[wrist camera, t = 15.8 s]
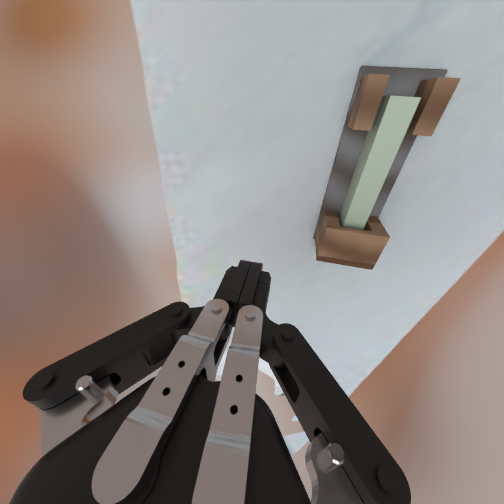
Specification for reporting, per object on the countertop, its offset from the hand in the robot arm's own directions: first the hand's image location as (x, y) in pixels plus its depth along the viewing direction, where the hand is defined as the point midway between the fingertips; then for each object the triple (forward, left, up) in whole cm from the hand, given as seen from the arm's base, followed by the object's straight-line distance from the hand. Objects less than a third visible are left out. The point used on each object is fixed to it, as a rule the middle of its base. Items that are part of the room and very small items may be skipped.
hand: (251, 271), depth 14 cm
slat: (0, +12, -24) cm, 27 cm away
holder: (-1, +12, -25) cm, 27 cm away
